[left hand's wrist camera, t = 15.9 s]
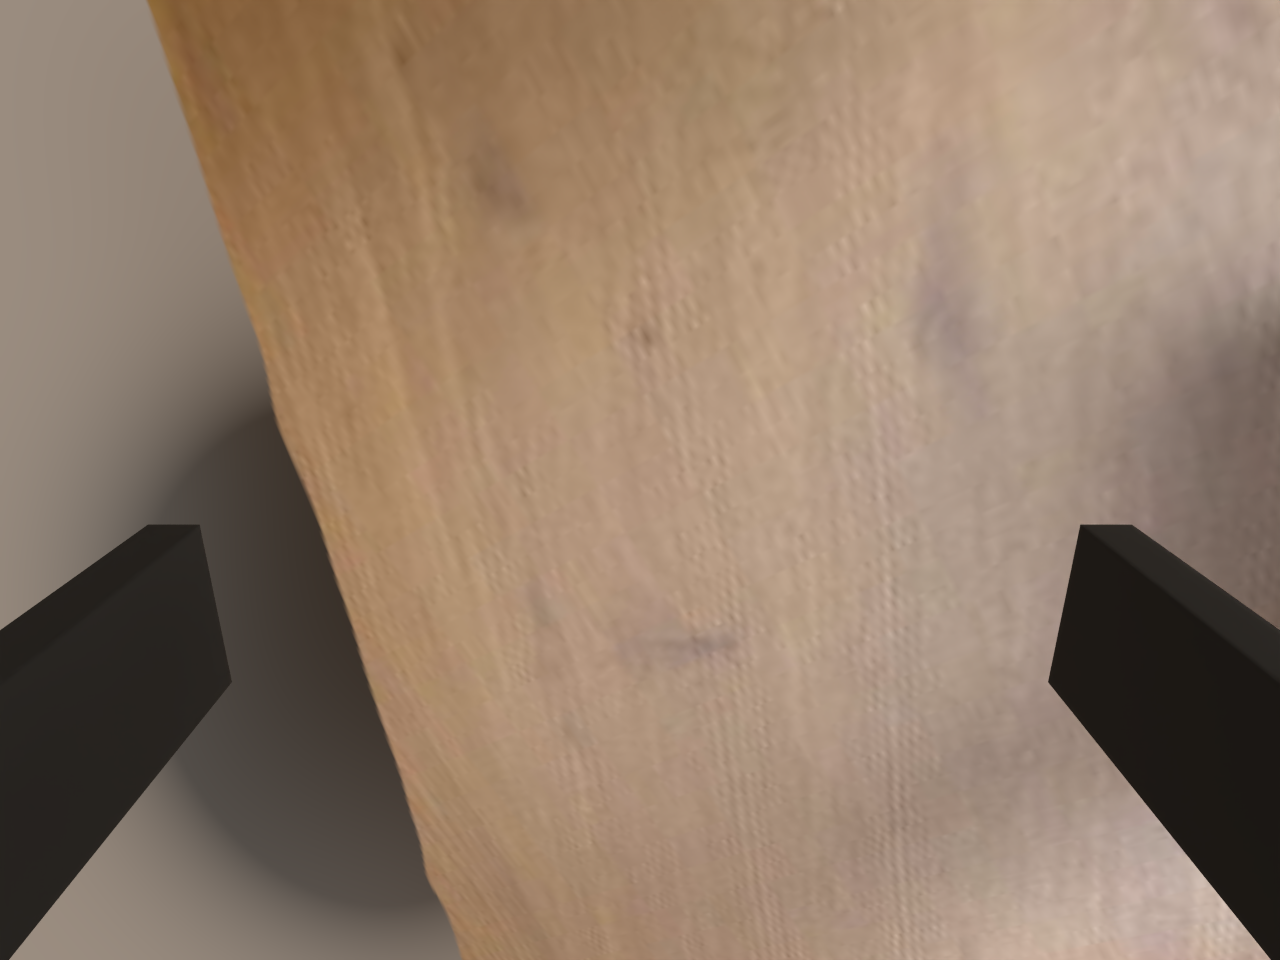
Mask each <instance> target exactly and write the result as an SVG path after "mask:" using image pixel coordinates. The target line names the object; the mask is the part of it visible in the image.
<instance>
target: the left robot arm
mask: <svg viewBox="0 0 1280 960" xmlns="http://www.w3.org/2000/svg"><path fill="white" fill-rule="evenodd" d="M231 682H232V681H231V676H230V671H229V666H228V661H227V656H226V651H225V647H224V642H223V637H222V632H221V627H220V622H219V617H218V612H217V608H216V603H215V598H214V593H213V588H212V583H211V578H210V573H209V569H208V564H207V559H206V554H205V549H204V544H203V539H202V535H201V530H200V525H147V526H146V527H144V528H143V529H141V530H140V531H139V532H137V533H136V534H134V535H133V536H132V537H130V538H129V539H127V540H126V541H125V542H123V543H122V544H120V545H119V546H118V547H116V548H115V549H113V550H112V551H111V552H109V553H108V554H106V555H105V556H104V557H102V558H101V559H99V560H98V561H97V562H95V563H94V564H92V565H91V566H90V567H88V568H87V569H85V570H84V571H83V572H81V573H80V574H78V575H77V576H76V577H74V578H73V579H71V580H70V581H69V582H67V583H66V584H64V585H63V586H62V587H60V588H59V589H57V590H56V591H55V592H53V593H52V594H50V595H49V596H48V597H46V598H45V599H43V600H42V601H41V602H39V603H38V604H36V605H35V606H34V607H32V608H31V609H29V610H28V611H27V612H25V613H24V614H22V615H21V616H20V617H18V618H17V619H15V620H14V621H13V622H11V623H10V624H8V625H7V626H6V627H4V628H3V629H1V630H0V960H9V959H10V958H11V957H12V955H13V954H14V953H15V952H16V950H17V949H18V948H19V946H20V945H21V944H22V943H23V942H24V940H25V939H26V938H27V937H28V935H29V934H30V933H31V932H32V930H33V929H34V928H35V927H36V925H37V924H38V923H39V922H40V920H41V919H42V918H43V917H44V915H45V914H46V913H47V912H48V910H49V909H50V908H51V907H52V905H53V904H54V903H55V902H56V900H57V899H58V898H59V897H60V895H61V894H62V893H63V892H64V890H65V889H66V888H67V887H68V885H69V884H70V883H71V882H72V880H73V879H74V878H75V877H76V875H77V874H78V873H79V872H80V871H81V869H82V868H83V867H84V866H85V864H86V863H87V862H88V861H89V859H90V858H91V857H92V856H93V854H94V853H95V852H96V851H97V849H98V848H99V847H100V846H101V844H102V843H103V842H104V841H105V839H106V838H107V837H108V836H109V834H110V833H111V832H112V831H113V829H114V828H115V827H116V826H117V824H118V823H119V822H120V821H121V819H122V818H123V817H124V816H125V814H126V813H127V812H128V811H129V809H130V808H131V807H132V806H133V805H134V803H135V802H136V801H137V799H138V798H139V797H140V796H141V794H142V793H143V792H144V791H145V790H146V788H147V787H148V786H149V785H150V783H151V782H152V781H153V780H154V778H155V777H156V776H157V775H158V773H159V772H160V771H161V770H162V768H163V767H164V766H165V765H166V763H167V762H168V761H169V760H170V758H171V757H172V756H173V755H174V753H175V752H176V751H177V750H178V748H179V747H180V746H181V745H182V743H183V742H184V741H185V740H186V738H187V737H188V736H189V735H190V733H191V732H192V731H193V730H194V729H195V727H196V726H197V725H198V724H199V722H200V721H201V720H202V719H203V717H204V716H205V715H206V714H207V712H208V711H209V710H210V709H211V707H212V706H213V705H214V704H215V702H216V701H217V700H218V699H219V697H220V696H221V695H222V694H223V692H224V691H225V690H226V689H227V687H228V686H229V685H230V684H231ZM1048 682H1049V684H1050V685H1051V686H1052V687H1053V689H1054V690H1055V691H1056V692H1057V694H1058V695H1059V696H1060V697H1061V699H1062V700H1063V701H1064V702H1065V704H1066V705H1067V706H1068V707H1069V709H1070V710H1071V711H1072V712H1073V714H1074V715H1075V716H1076V717H1077V719H1078V720H1079V721H1080V722H1081V724H1082V725H1083V726H1084V727H1085V729H1086V730H1087V731H1088V732H1089V734H1090V735H1091V736H1092V737H1093V738H1094V740H1095V741H1096V742H1097V743H1098V745H1099V746H1100V747H1101V748H1102V750H1103V751H1104V752H1105V753H1106V755H1107V756H1108V757H1109V758H1110V760H1111V761H1112V762H1113V763H1114V765H1115V766H1116V767H1117V768H1118V770H1119V771H1120V772H1121V773H1122V775H1123V776H1124V777H1125V778H1126V780H1127V781H1128V782H1129V783H1130V785H1131V786H1132V787H1133V788H1134V790H1135V791H1136V792H1137V793H1138V795H1139V796H1140V797H1141V798H1142V800H1143V801H1144V802H1145V803H1146V805H1147V806H1148V807H1149V808H1150V810H1151V811H1152V812H1153V813H1154V814H1155V816H1156V817H1157V818H1158V819H1159V821H1160V822H1161V823H1162V824H1163V826H1164V827H1165V828H1166V829H1167V831H1168V832H1169V833H1170V834H1171V836H1172V837H1173V838H1174V839H1175V841H1176V842H1177V843H1178V844H1179V846H1180V847H1181V848H1182V849H1183V851H1184V852H1185V853H1186V854H1187V856H1188V857H1189V858H1190V859H1191V861H1192V862H1193V863H1194V864H1195V866H1196V867H1197V868H1198V869H1199V871H1200V872H1201V873H1202V874H1203V876H1204V877H1205V878H1206V879H1207V881H1208V882H1209V883H1210V884H1211V885H1212V887H1213V888H1214V889H1215V890H1216V892H1217V893H1218V894H1219V895H1220V897H1221V898H1222V899H1223V900H1224V902H1225V903H1226V904H1227V905H1228V907H1229V908H1230V909H1231V910H1232V912H1233V913H1234V914H1235V915H1236V917H1237V918H1238V919H1239V920H1240V922H1241V923H1242V924H1243V925H1244V927H1245V928H1246V929H1247V930H1248V932H1249V933H1250V934H1251V935H1252V937H1253V938H1254V939H1255V940H1256V942H1257V943H1258V944H1259V945H1260V947H1261V948H1262V949H1263V950H1264V952H1265V953H1266V954H1267V955H1268V957H1269V958H1270V959H1271V960H1280V630H1279V629H1277V628H1276V627H1274V626H1273V625H1272V624H1270V623H1269V622H1267V621H1266V620H1265V619H1263V618H1262V617H1260V616H1259V615H1258V614H1256V613H1255V612H1253V611H1252V610H1251V609H1249V608H1248V607H1246V606H1245V605H1244V604H1242V603H1241V602H1239V601H1238V600H1237V599H1235V598H1234V597H1232V596H1231V595H1230V594H1228V593H1227V592H1225V591H1224V590H1223V589H1221V588H1220V587H1218V586H1217V585H1216V584H1214V583H1213V582H1211V581H1210V580H1209V579H1207V578H1206V577H1204V576H1203V575H1202V574H1200V573H1199V572H1197V571H1196V570H1195V569H1193V568H1192V567H1190V566H1189V565H1188V564H1186V563H1185V562H1183V561H1182V560H1181V559H1179V558H1178V557H1176V556H1175V555H1174V554H1172V553H1171V552H1169V551H1168V550H1167V549H1165V548H1164V547H1162V546H1161V545H1160V544H1158V543H1157V542H1155V541H1154V540H1153V539H1151V538H1150V537H1148V536H1147V535H1146V534H1144V533H1143V532H1141V531H1140V530H1139V529H1137V528H1136V527H1134V526H1133V525H1080V530H1079V534H1078V539H1077V544H1076V549H1075V554H1074V559H1073V564H1072V569H1071V573H1070V578H1069V583H1068V588H1067V593H1066V598H1065V603H1064V608H1063V612H1062V617H1061V622H1060V627H1059V632H1058V637H1057V642H1056V647H1055V651H1054V656H1053V661H1052V666H1051V671H1050V676H1049V681H1048Z"/></svg>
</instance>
